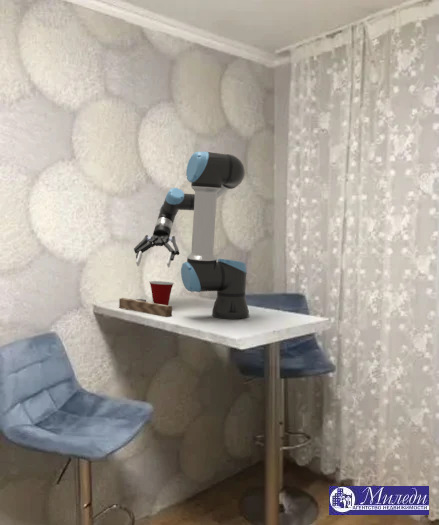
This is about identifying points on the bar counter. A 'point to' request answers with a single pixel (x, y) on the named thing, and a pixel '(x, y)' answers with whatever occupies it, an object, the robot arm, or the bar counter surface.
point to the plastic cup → (161, 291)
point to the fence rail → (145, 307)
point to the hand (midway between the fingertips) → (152, 264)
